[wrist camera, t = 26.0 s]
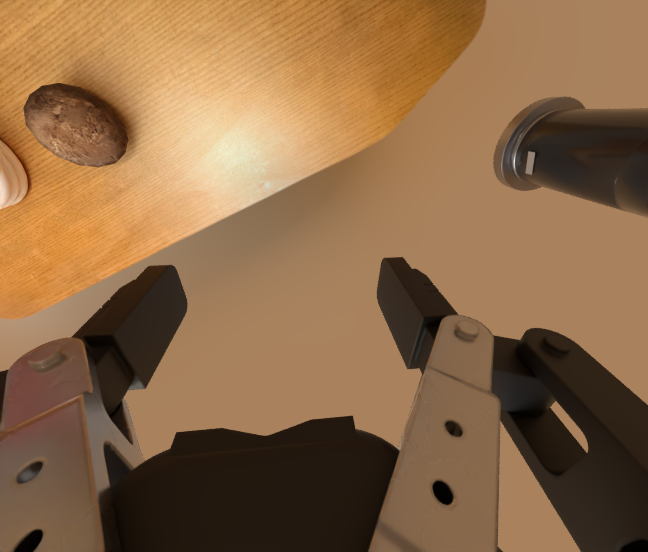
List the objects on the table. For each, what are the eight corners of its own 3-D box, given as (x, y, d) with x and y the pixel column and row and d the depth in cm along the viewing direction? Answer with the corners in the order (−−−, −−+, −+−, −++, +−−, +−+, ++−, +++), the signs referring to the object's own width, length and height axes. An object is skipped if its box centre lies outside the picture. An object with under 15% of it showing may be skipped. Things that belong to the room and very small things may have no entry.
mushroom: (62, 180, 29) (35, 161, 24) (29, 106, 28) (-8, 67, 22) (142, 171, 33) (135, 153, 27) (117, 105, 31) (104, 72, 26)
